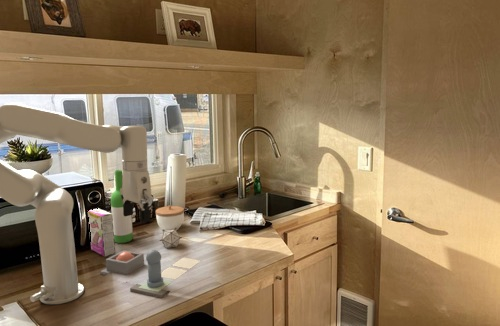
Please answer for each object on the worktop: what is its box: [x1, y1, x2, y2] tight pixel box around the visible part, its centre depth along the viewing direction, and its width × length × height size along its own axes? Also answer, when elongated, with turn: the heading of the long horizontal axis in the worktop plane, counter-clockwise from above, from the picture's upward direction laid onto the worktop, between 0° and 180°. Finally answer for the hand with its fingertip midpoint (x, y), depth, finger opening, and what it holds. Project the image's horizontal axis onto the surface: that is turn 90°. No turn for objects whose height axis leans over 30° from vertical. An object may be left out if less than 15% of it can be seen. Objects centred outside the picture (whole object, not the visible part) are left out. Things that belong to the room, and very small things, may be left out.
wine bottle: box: [110, 169, 134, 244], centre depth 172 cm, size 8×8×30 cm
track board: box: [129, 257, 201, 299], centre depth 140 cm, size 28×12×1 cm, turn 156°
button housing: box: [99, 249, 145, 276], centre depth 145 cm, size 12×12×5 cm
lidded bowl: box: [155, 205, 185, 231], centre depth 188 cm, size 13×13×11 cm
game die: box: [159, 228, 183, 249], centre depth 164 cm, size 9×8×10 cm
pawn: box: [145, 249, 164, 288], centre depth 131 cm, size 5×5×11 cm
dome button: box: [116, 252, 134, 262], centre depth 145 cm, size 6×6×6 cm
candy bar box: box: [87, 207, 116, 257], centre depth 161 cm, size 11×5×16 cm, turn 47°
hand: (136, 218), depth 132 cm, fingers open, 9 cm apart
